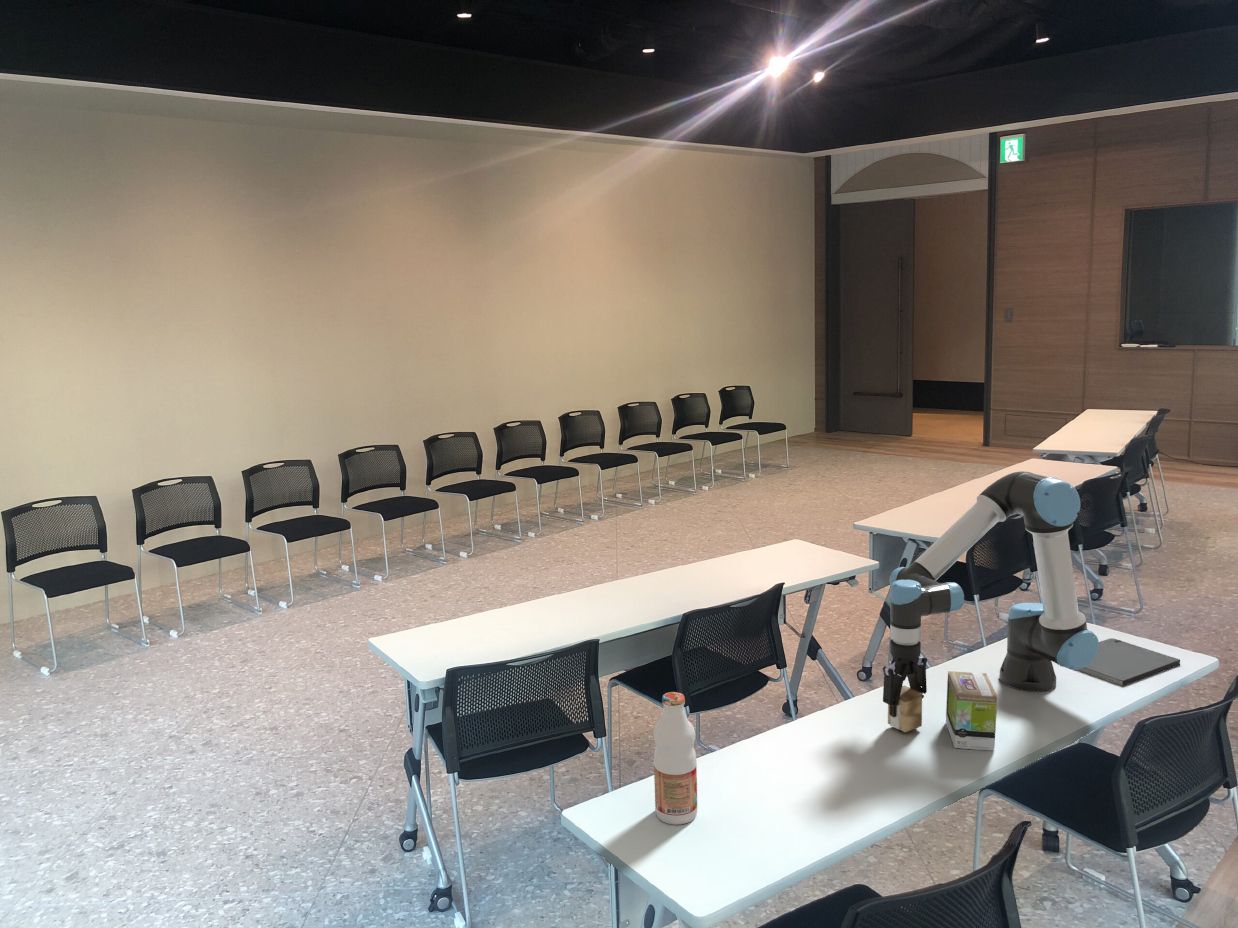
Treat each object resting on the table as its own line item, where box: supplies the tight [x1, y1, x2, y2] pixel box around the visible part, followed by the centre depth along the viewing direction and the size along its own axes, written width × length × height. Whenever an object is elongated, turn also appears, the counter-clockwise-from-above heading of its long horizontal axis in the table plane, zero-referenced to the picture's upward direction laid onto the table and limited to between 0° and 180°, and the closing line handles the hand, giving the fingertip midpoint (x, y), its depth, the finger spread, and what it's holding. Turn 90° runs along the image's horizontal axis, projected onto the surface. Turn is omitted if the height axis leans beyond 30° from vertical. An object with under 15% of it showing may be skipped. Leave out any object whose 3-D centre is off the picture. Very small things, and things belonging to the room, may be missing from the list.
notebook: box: [1077, 637, 1181, 687], centre depth 277 cm, size 22×2×28 cm
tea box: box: [945, 670, 998, 751], centre depth 234 cm, size 15×10×15 cm, turn 168°
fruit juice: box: [653, 691, 698, 826], centre depth 202 cm, size 9×9×28 cm
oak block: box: [887, 685, 923, 733], centre depth 240 cm, size 6×6×9 cm
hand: (904, 723), depth 240 cm, fingers closed on oak block, 6 cm apart
